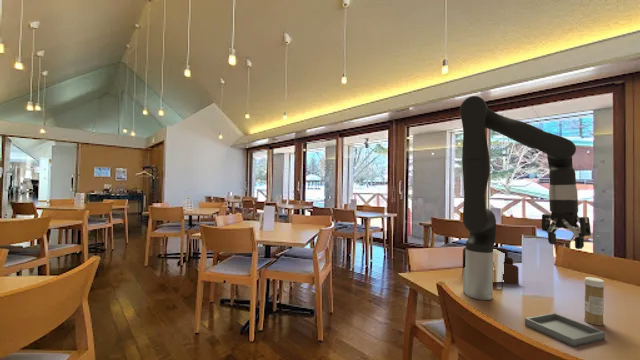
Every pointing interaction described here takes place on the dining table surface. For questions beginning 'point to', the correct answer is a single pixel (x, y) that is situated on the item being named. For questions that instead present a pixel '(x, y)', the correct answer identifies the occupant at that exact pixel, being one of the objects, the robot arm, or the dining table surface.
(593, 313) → the sprinkles bottle
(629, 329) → the dining table surface
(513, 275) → the letter holder
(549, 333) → the condiment tray
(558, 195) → the robot arm
